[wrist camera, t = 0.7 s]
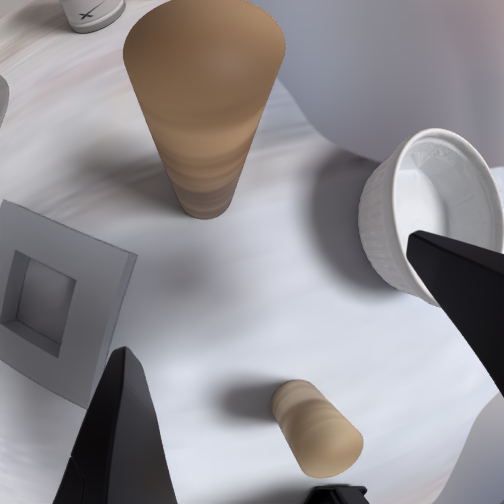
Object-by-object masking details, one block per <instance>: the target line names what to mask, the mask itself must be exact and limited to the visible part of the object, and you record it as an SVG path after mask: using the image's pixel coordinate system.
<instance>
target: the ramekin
mask: <svg viewBox="0 0 504 504" xmlns="http://www.w3.org/2000/svg"><path fill="white" fill-rule="evenodd" d="M358 226H359V234H360V238H361V243H362V245H363V249H364V251H365V253H366V255H367V258H368V260H369V261H370V262H371V265H372V267H373V268H374V269H375V270H376V272H377V273H378V274H379V275H380V276H381V277H382V279H383V280H384V281H386V282H388V283H389V284H390V285H391V286H393V287H395V288H397V289H398V290H400V291H403V292H405V293H408V294H411V295H414V296H416V297H419V298H421V299H423V300H424V301H426V302H427V303H429V304H431V305H434V306H436V307H440V305H439V304H438V303H437V302H436V300H435V299H434V298H433V296H432V295H431V294H430V292H429V291H428V289H427V288H426V286H425V285H424V283H423V282H422V280H421V279H420V278H419V276H418V275H417V273H416V272H415V270H414V269H413V267H412V266H411V265H410V263H409V262H408V260H407V257H406V250H407V242H408V236H409V234H411V233H412V232H415V231H417V230H423V231H427V232H430V233H434V234H438V235H441V236H445V237H448V238H452V239H455V240H459V241H462V242H466V243H469V244H473V245H476V246H479V247H483V248H486V249H489V250H492V251H495V252H499V253H502V254H503V252H504V211H503V205H502V201H501V196H500V193H499V190H498V187H497V184H496V182H495V179H494V177H493V175H492V173H491V171H490V169H489V167H488V166H487V164H486V162H485V161H484V159H483V158H482V157H481V155H480V154H479V153H478V151H477V150H476V149H475V148H474V147H473V146H472V145H471V144H470V143H469V142H467V141H466V140H465V139H463V138H462V137H460V136H459V135H457V134H455V133H453V132H451V131H448V130H445V129H439V128H431V129H425V130H422V131H419V132H417V133H415V134H413V135H412V136H410V137H408V138H407V139H405V140H404V141H403V142H401V143H400V144H399V145H398V147H397V148H396V149H395V151H394V152H393V154H391V155H390V156H389V157H388V158H387V159H386V160H384V161H383V162H382V163H381V164H380V165H379V166H378V167H377V168H376V169H375V170H374V171H373V173H372V174H371V176H370V177H369V178H368V180H367V182H366V185H365V186H364V188H363V193H362V194H361V197H360V203H359V213H358ZM440 308H441V307H440Z"/></svg>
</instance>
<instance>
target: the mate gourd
mask: <svg viewBox="0 0 504 504" xmlns="http://www.w3.org/2000/svg"><path fill="white" fill-rule="evenodd" d="M8 101H9V87H8V84H7V82H6V80H5V79H4V78H3V77H2V76H1V75H0V126H1V124H2V122H3V119H4V116H5V113H6V110H7V106H8Z"/></svg>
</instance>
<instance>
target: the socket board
mask: <svg viewBox="0 0 504 504" xmlns="http://www.w3.org/2000/svg"><path fill="white" fill-rule="evenodd" d="M30 258H32V259H34V260H36V261H38V262H40V263H42V264H44V265H46V266H48V267H50V268H52V269H54V270H56V271H58V272H60V273H62V274H64V275H66V276H69V277H71V278H73V279H75V280H77V281H76V284H75V288H74V292H73V295H72V299H71V303H70V307H69V311H68V315H67V319H66V323H65V328H64V332H63V337H62V342H61V345H60V344H58V343H56V342H55V341H53V340H51V339H49V338H47V337H45V336H44V335H42V334H40V333H38V332H37V331H35V330H33V329H31V328H30V327H28V326H26V325H25V324H23V323H21V322H20V321H18V320H17V319H16V316H17V311H18V306H19V301H20V296H21V291H22V287H23V282H24V278H25V274H26V270H27V266H28V263H29V259H30ZM136 258H137V255H136V254H134V253H131V252H128V251H126V250H123V249H121V248H118V247H116V246H113V245H111V244H109V243H106V242H104V241H101V240H99V239H96V238H94V237H91V236H89V235H87V234H84V233H82V232H79V231H77V230H75V229H72V228H70V227H68V226H65V225H63V224H61V223H58V222H56V221H54V220H51V219H49V218H47V217H45V216H42V215H40V214H38V213H36V212H33V211H31V210H29V209H27V208H24V207H22V206H20V205H18V204H15V203H12V202H9V201H7V200H4V199H3V202H2V205H1V208H0V360H2V361H3V362H5V363H6V364H8V365H9V366H11V367H12V368H14V369H15V370H17V371H18V372H20V373H21V374H23V375H24V376H26V377H28V378H29V379H31V380H33V381H34V382H36V383H38V384H39V385H41V386H43V387H44V388H46V389H48V390H50V391H51V392H53V393H55V394H57V395H59V396H61V397H63V398H64V399H66V400H68V401H70V402H72V403H74V404H76V405H78V406H80V407H82V408H84V409H87V410H88V407H89V405H90V402H91V400H92V397H93V395H94V392H95V390H96V388H97V385H98V383H99V381H100V378H101V376H102V374H103V371H104V367H105V362H106V358H107V354H108V351H109V347H110V343H111V339H112V335H113V332H114V328H115V325H116V321H117V318H118V314H119V311H120V307H121V304H122V301H123V298H124V294H125V291H126V288H127V285H128V282H129V279H130V276H131V273H132V270H133V267H134V264H135V261H136Z"/></svg>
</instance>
